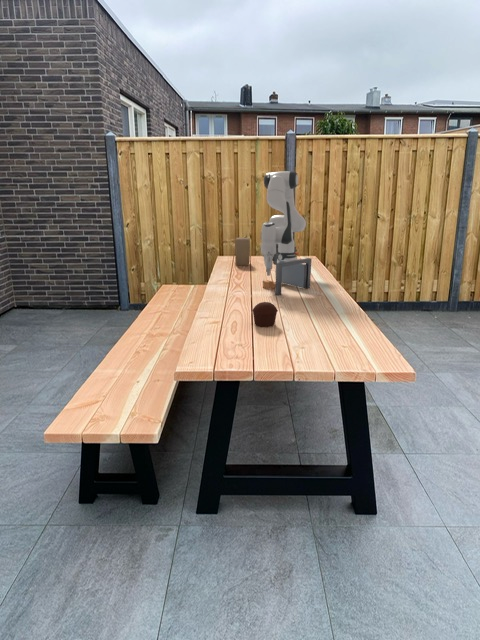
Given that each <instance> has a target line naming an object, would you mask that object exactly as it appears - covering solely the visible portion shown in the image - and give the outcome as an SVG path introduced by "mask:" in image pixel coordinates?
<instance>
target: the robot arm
mask: <svg viewBox="0 0 480 640" xmlns="http://www.w3.org/2000/svg"><path fill="white" fill-rule="evenodd" d="M263 184H264V187H265V188H266V189H267V190H266V202H267V205H268V206H269V207H271V209H273V210H276V211H278V212H281V213H282V214H276V215H272V216H271V217H270V218H269V221H268V222H267V221H265V222H264V223H262V226H261V231H260V240H261V244H260V254H261V255H262V256H263V262H264V266H265V271H266V276H268V277H269V276H271V270H272V269H273V261H272V257H273V256H274V254H276V243H278V254H277V255H278V256H277V257H278V259H277V263H279V260H284V261H293V260H299V259H298V257H297V258H296V255H297V256H299V252H298V251H297V252H294V246H295V247H296V243H295V240H294V233H299V232H303V231H304V230H305V229H306V227H307V222H306V219H305V217H304V216H302V215H301V214H300V213H299V212H298V210H297V208H296V204H295V203H296V202H295V198H294V197H295V196H294V194H295V193H294V189H296V188H297V187H298V184H299V174H298V173H297V172H296V171H295V170H294V171H292V170H291V171H287V170H283V171H282V170H281V171H273V172H271V171H270V172H267V173H266V174H265V175H264V177H263ZM274 271H275V273H276V268H275V270H274Z"/></svg>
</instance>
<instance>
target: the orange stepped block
mask: <svg viewBox="0 0 480 640" xmlns="http://www.w3.org/2000/svg"><path fill="white" fill-rule="evenodd" d="M275 285H276V281H274V280H273V281H272V280H270V279H269V280H267V279H266V280H263V281H262V288H263V289H267V290H270V289H271V290H272V289H274V288H275ZM283 285H284V283H282V286H281V287H283Z"/></svg>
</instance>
